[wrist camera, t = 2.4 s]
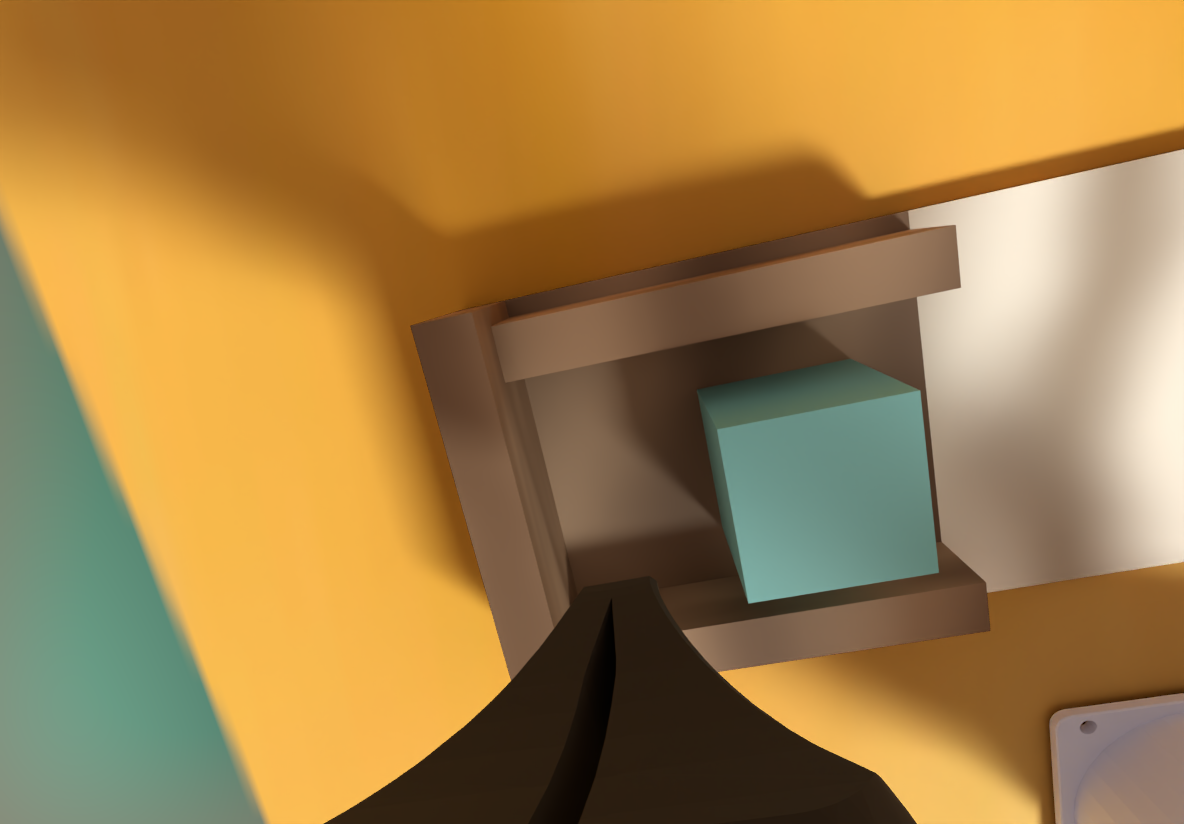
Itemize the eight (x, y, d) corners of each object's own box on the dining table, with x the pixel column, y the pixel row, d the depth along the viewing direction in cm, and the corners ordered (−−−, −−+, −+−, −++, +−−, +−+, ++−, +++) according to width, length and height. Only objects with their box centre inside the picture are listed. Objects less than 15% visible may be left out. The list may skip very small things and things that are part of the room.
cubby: (1244, 135, 17) (1468, 90, 12) (1238, 541, 19) (1420, 626, 15) (461, 309, 19) (410, 325, 15) (551, 650, 22) (531, 751, 17)
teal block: (850, 358, 18) (920, 390, 14) (868, 501, 19) (938, 573, 15) (696, 389, 19) (716, 429, 14) (722, 526, 20) (748, 603, 15)
